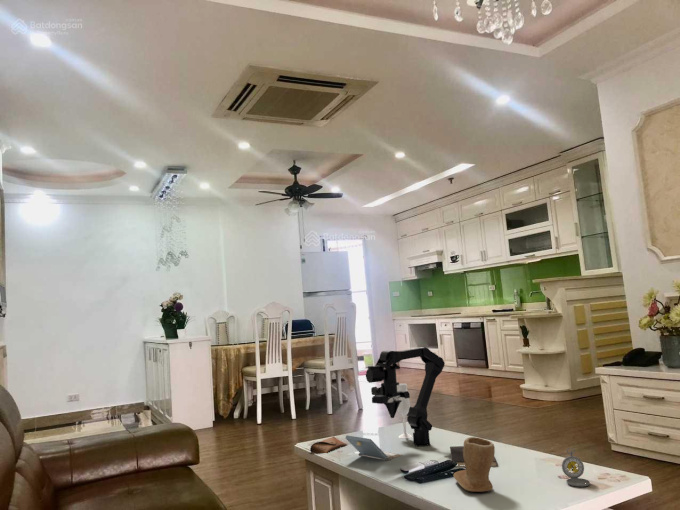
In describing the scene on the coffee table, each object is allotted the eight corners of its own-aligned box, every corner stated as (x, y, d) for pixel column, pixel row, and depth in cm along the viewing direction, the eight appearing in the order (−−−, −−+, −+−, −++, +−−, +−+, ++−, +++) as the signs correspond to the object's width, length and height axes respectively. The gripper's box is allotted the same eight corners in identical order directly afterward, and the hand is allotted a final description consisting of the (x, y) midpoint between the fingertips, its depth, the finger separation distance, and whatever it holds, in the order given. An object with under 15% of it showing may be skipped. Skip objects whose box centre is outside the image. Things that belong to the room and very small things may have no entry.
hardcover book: (452, 468, 187) (451, 461, 187) (450, 452, 209) (449, 446, 210) (497, 467, 184) (497, 460, 185) (490, 451, 207) (490, 445, 207)
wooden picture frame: (375, 452, 214) (374, 448, 214) (404, 458, 202) (404, 453, 203) (358, 457, 207) (358, 453, 207) (388, 463, 196) (388, 458, 196)
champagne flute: (397, 438, 237) (394, 385, 240) (398, 435, 243) (394, 383, 247) (412, 438, 236) (408, 384, 239) (412, 435, 242) (409, 383, 246)
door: (363, 452, 207) (346, 435, 202) (387, 456, 198) (370, 439, 193) (360, 457, 206) (344, 440, 201) (385, 461, 197) (368, 444, 192)
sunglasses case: (326, 454, 216) (319, 439, 218) (315, 461, 218) (307, 446, 221) (348, 444, 231) (341, 430, 233) (338, 451, 233) (331, 438, 236)
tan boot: (503, 493, 155) (498, 442, 157) (464, 496, 155) (459, 444, 157) (489, 479, 170) (484, 432, 172) (453, 481, 170) (449, 434, 172)
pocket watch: (580, 489, 155) (576, 454, 156) (557, 482, 162) (553, 449, 164) (598, 484, 159) (594, 450, 160) (574, 477, 166) (571, 445, 168)
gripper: (389, 377, 233) (392, 413, 230) (361, 382, 220) (363, 420, 217) (409, 378, 225) (411, 415, 223) (380, 383, 212) (383, 422, 210)
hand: (392, 417), depth 218 cm, fingers closed
